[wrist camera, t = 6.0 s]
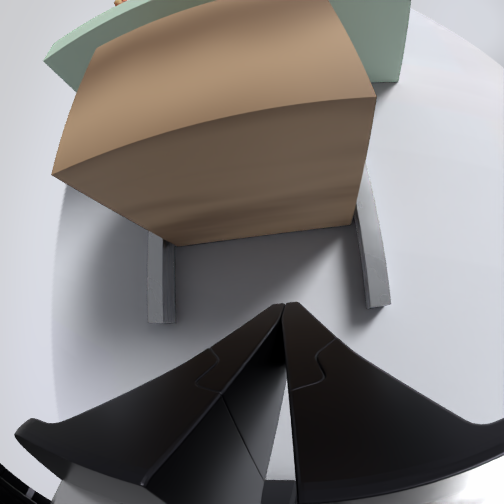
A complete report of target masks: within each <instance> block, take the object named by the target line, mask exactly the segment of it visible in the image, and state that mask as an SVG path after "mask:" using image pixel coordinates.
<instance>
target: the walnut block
mask: <svg viewBox="0 0 504 504" xmlns="http://www.w3.org/2000/svg"><path fill="white" fill-rule="evenodd" d="M376 98H377V96H376V94H375V91H374V89H373V87H372V84H371V82H370V80H369V77H368V75H367V73H366V71H365V69H364V66H363V64H362V62H361V60H360V58H359V56H358V54H357V52H356V50H355V48H354V46H353V44H352V42H351V40H350V38H349V36H348V34H347V32H346V30H345V28H344V27H343V25H342V23H341V21H340V19H339V18H338V16H337V14H336V12H335V11H334V9H333V7H332V5H331V4H330V2H329V1H328V0H216V1H212V2H209V3H205V4H202V5H198V6H195V7H192V8H189V9H186V10H183V11H180V12H177V13H174V14H171V15H169V16H166V17H163V18H161V19H158V20H156V21H153V22H151V23H148V24H146V25H143V26H141V27H139V28H136V29H134V30H132V31H130V32H128V33H125V34H123V35H121V36H119V37H117V38H115V39H113V40H111V41H109V42H107V43H105V44H103V45H101V46H100V47H98V48H96V50H95V52H94V54H93V56H92V58H91V60H90V63H89V65H88V67H87V69H86V72H85V74H84V76H83V79H82V81H81V83H80V86H79V88H78V91H77V93H76V96H75V99H74V102H73V104H72V107H71V110H70V112H69V115H68V118H67V121H66V124H65V127H64V130H63V134H62V137H61V140H60V144H59V147H58V151H57V154H56V158H55V162H54V166H53V170H52V174H51V175H52V176H54V177H56V178H57V179H59V180H61V181H62V182H64V183H66V184H67V185H69V186H71V187H73V188H74V189H76V190H78V191H79V192H81V193H83V194H85V195H86V196H88V197H90V198H91V199H93V200H95V201H97V202H98V203H100V204H102V205H104V206H105V207H107V208H109V209H111V210H112V211H114V212H116V213H118V214H119V215H121V216H123V217H125V218H127V219H128V220H130V221H132V222H134V223H136V224H137V225H139V226H141V227H143V228H144V229H146V230H148V231H150V232H152V233H154V234H155V235H157V236H159V237H161V238H163V239H164V240H166V241H168V242H170V243H172V244H174V245H175V246H177V247H178V246H186V245H193V244H200V243H208V242H215V241H223V240H231V239H238V238H246V237H254V236H262V235H270V234H278V233H286V232H294V231H302V230H311V229H319V228H327V227H336V226H344V225H351V222H352V218H353V214H354V210H355V206H356V202H357V197H358V193H359V189H360V184H361V180H362V175H363V170H364V165H365V161H366V156H367V150H368V145H369V140H370V135H371V129H372V123H373V117H374V111H375V105H376Z"/></svg>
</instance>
